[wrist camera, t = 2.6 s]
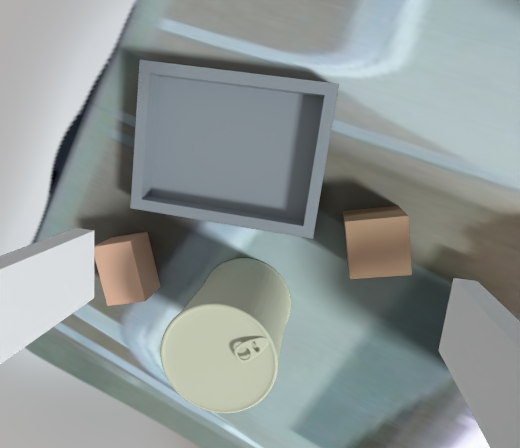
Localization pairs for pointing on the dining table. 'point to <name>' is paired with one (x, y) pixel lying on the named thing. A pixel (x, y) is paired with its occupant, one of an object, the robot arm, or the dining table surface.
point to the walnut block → (377, 242)
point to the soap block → (127, 268)
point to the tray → (231, 146)
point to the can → (228, 337)
